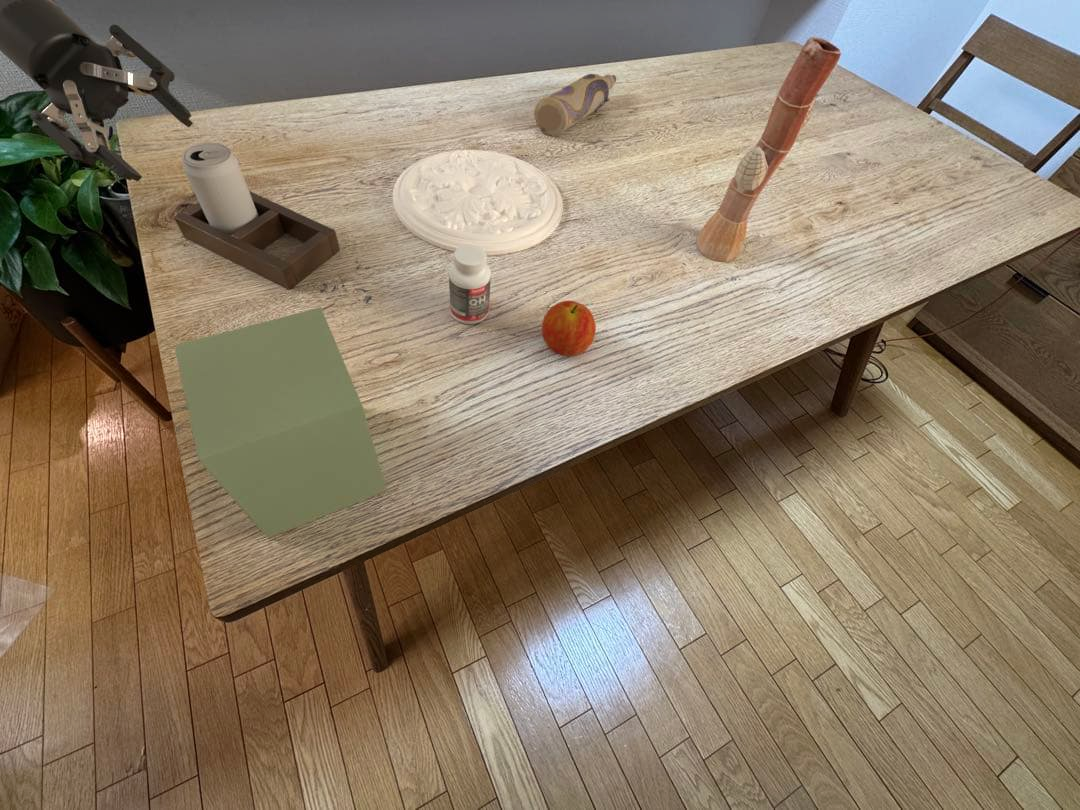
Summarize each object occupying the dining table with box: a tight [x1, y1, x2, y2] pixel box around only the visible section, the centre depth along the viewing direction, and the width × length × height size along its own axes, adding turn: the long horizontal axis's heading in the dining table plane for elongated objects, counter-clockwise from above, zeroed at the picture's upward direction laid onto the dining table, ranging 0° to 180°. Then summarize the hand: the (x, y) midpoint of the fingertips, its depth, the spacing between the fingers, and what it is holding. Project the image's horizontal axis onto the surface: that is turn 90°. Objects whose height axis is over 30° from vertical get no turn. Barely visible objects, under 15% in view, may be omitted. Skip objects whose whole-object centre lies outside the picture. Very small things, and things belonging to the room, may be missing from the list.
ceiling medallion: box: [392, 149, 564, 256], centre depth 85 cm, size 28×28×3 cm
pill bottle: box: [448, 245, 492, 325], centre depth 67 cm, size 5×5×10 cm
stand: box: [173, 306, 388, 539], centre depth 49 cm, size 12×12×16 cm
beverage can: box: [181, 142, 259, 235], centre depth 70 cm, size 6×6×12 cm
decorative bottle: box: [533, 73, 617, 137], centre depth 104 cm, size 26×8×7 cm, turn 145°
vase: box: [695, 36, 842, 263], centre depth 74 cm, size 11×7×30 cm
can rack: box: [173, 190, 341, 291], centre depth 73 cm, size 10×19×4 cm, turn 63°
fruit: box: [541, 300, 597, 357], centre depth 66 cm, size 7×7×8 cm
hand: (162, 150), depth 58 cm, fingers open, 8 cm apart
